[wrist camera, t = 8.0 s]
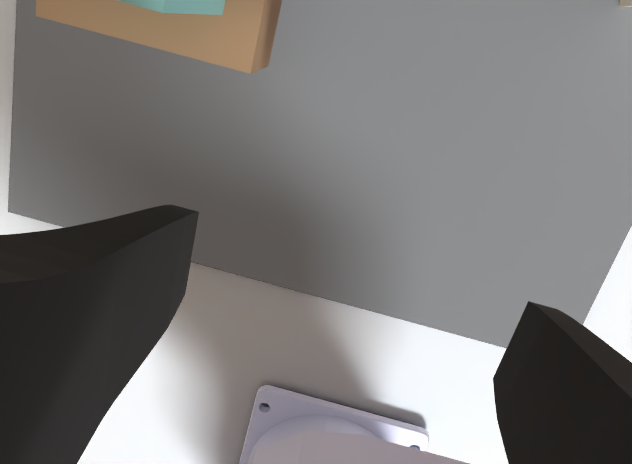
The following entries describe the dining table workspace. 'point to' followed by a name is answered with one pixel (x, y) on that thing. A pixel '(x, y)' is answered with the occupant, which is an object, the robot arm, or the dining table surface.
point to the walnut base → (180, 28)
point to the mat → (356, 151)
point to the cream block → (625, 3)
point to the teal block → (181, 6)
